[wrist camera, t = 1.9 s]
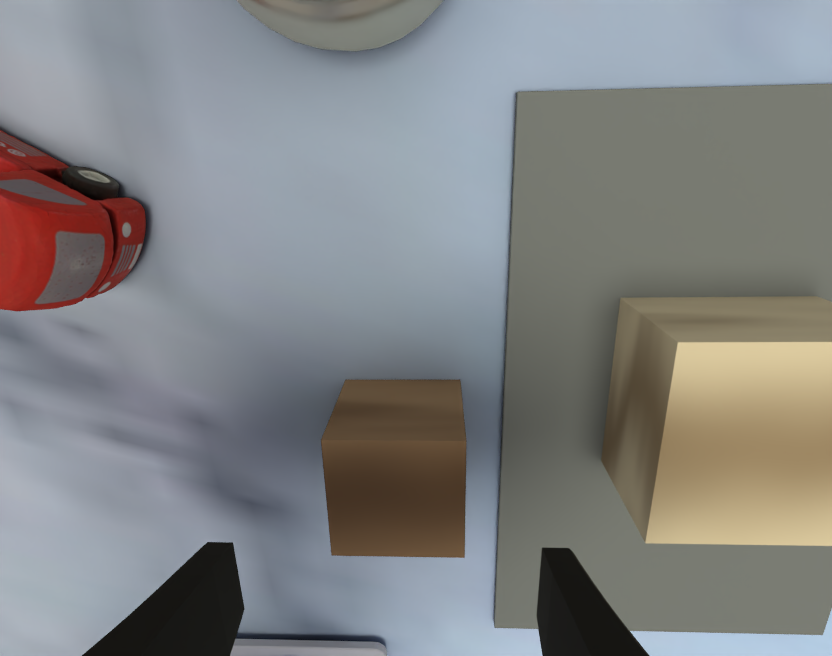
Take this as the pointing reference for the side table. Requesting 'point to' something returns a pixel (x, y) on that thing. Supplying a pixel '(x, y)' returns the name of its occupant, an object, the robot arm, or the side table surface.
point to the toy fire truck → (61, 230)
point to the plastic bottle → (342, 20)
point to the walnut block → (396, 469)
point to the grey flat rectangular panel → (642, 278)
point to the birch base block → (723, 419)
